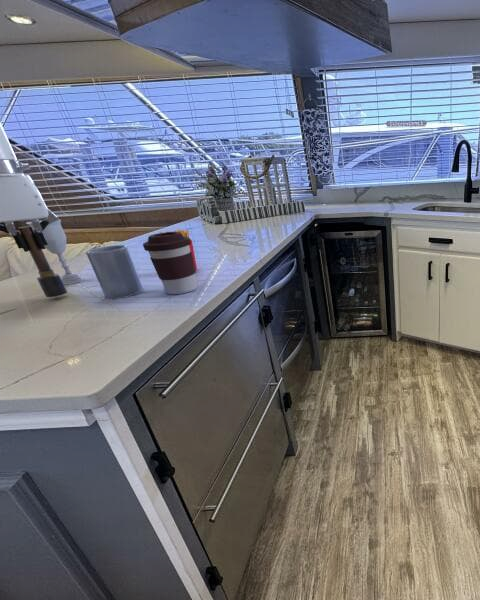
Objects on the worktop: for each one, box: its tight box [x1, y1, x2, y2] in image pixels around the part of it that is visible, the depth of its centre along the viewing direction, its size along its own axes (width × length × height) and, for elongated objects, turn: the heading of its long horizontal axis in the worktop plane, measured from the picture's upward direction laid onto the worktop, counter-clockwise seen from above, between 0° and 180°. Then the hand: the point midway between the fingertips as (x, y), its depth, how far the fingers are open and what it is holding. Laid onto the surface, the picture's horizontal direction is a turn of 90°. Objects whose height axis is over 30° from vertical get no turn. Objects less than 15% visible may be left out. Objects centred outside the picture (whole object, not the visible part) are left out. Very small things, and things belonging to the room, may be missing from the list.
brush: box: [17, 225, 68, 298], centre depth 80 cm, size 4×4×18 cm
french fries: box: [159, 229, 198, 271], centre depth 99 cm, size 9×4×13 cm, turn 137°
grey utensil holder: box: [85, 244, 144, 299], centre depth 83 cm, size 8×8×12 cm
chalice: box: [26, 218, 85, 286], centre depth 93 cm, size 7×7×18 cm
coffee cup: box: [142, 231, 199, 295], centre depth 83 cm, size 10×10×15 cm
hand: (35, 249), depth 79 cm, fingers closed on brush, 2 cm apart
